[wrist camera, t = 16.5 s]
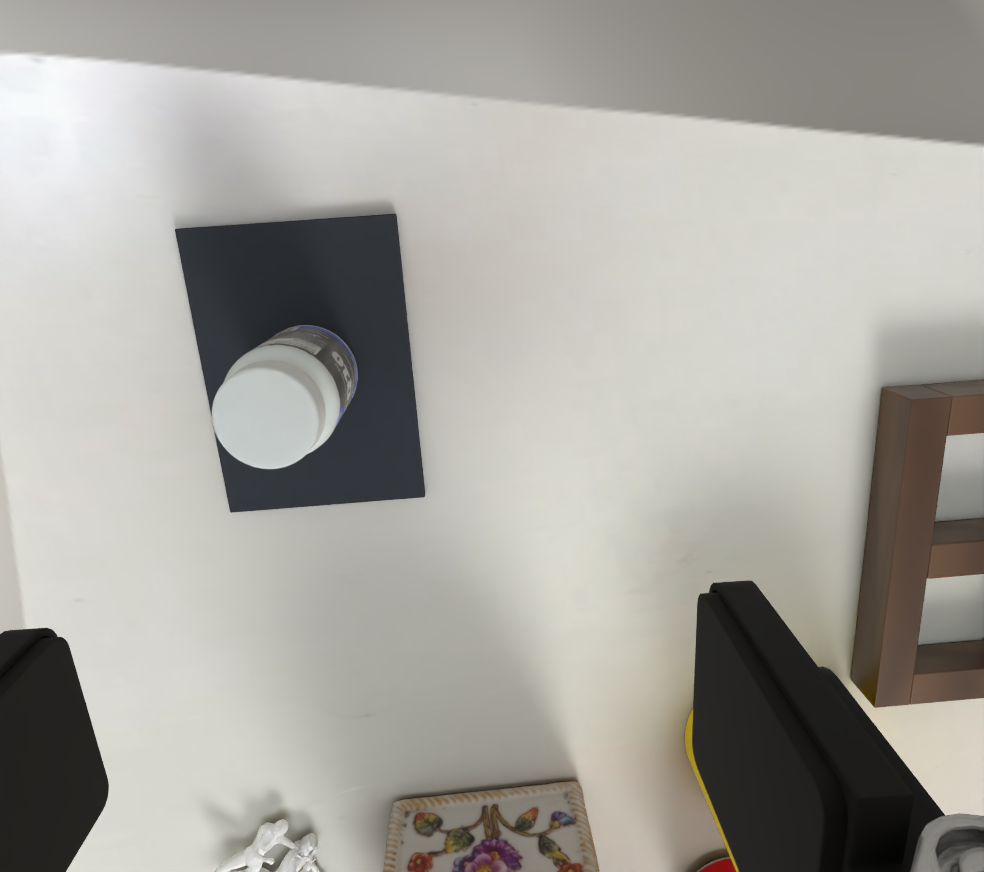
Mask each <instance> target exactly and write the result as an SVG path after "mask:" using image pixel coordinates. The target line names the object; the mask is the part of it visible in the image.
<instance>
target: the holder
mask: <svg viewBox="0 0 984 872" xmlns="http://www.w3.org/2000/svg"><path fill="white" fill-rule="evenodd" d="M974 433H984V380H977V381H964V382H951V383H938V384H925V385H911V386H898V387H885V388H882V394H881V404H880V413H879V422H878V432H877V441H876V450H875V460H874V469H873V478H872V488H871V497H870V506H869V516H868V525H867V534H866V544H865V553H864V562H863V572H862V581H861V590H860V600H859V609H858V618H857V628H856V637H855V646H854V656H853V665H852V674H851V680H852V682H853V683H854V684H855V685H856V686H857V687H858V689H859V690H860V691H861V692H862V693H863V695H864V696H865V697H866V698H867V699H868V700H869V702H870V703H871V704H872V705H873V706H874V707H875V708H876V707H887V706H898V705H909V704H920V703H931V702H942V701H954V700H965V699H976V698H984V640H979V641H967V642H955V643H944V644H932V645H921V646H917V644H918V637H919V630H920V623H921V615H922V608H923V601H924V594H925V587H926V579H927V578H941V577H952V576H964V575H976V574H984V519H971V520H959V521H947V522H935V515H936V508H937V500H938V493H939V486H940V479H941V472H942V464H943V457H944V450H945V443H946V436H949V435H962V434H974ZM934 522H935V523H934Z"/></svg>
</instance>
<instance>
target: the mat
mask: <svg viewBox="0 0 984 872" xmlns="http://www.w3.org/2000/svg"><path fill="white" fill-rule="evenodd" d="M175 232H176V237H177V242H178V247H179V252H180V258H181V263H182V268H183V273H184V278H185V283H186V288H187V293H188V298H189V304H190V309H191V314H192V319H193V324H194V329H195V334H196V339H197V344H198V349H199V355H200V360H201V365H202V370H203V375H204V380H205V385H206V390H207V395H208V400H209V406H210V411H211V416H212V406H213V401H214V398H215V396H216V393H217V391H218V389H219V388H220V386H221V385H222V384H223V383H224V380H225V378H226V375H227V374H228V372H229V370H230V369H231V367H232V366H233V365H234V364H235V363H236V361H237V360H238V359H239V358H241V357H242V356H243V355H245V354H246V353H248V352H249V351H251V350H253V349H254V348H256V347H257V346H259V345H261V344H262V343H264V342H266V341H267V340H269V339H270V338H272V337H273V336H275V335H276V334H278V333H279V332H281V331H283V330H285V329H288V328H290V327H294V326H299V325H312V326H317V327H321V328H324V329H327V330H329V331H331V332H333V333H334V334H336V335H337V336H338V337H340V338H341V339H342V340H343V341H344V342H345V343H346V345H347V346H348V347H349V349H350V350H351V352H352V353H353V355H354V358H355V361H356V364H357V370H358V381H357V387H356V390H355V393H354V396H353V398H352V400H351V402H350V404H349V405H348V407H347V408H346V410H345V412H344V414H343V415H342V417H341V419H340V420H339V422H338V424H337V426H336V427H335V429H334V431H333V433H332V434H331V435H330V437H329V438H328V439H327V440H326V441H325V442H324V443H323V444H322V445H321V446H320V447H318V448H317V449H316V450H314V451H312V452H311V453H308V454H306V455H305V456H304V457H303V458H302V459H300V460H299V461H297V462H295V463H294V464H291V465H289V466H286V467H283V468H278V469H262V468H257V467H253V466H250V465H247V464H245V463H243V462H241V461H239V460H238V459H236V458H235V457H234V456H232V455H231V454H230V453H229V452H228V451H227V450H226V449H225V448H224V447H223V445H222V444H221V442H220V441H219V439H218V437H217V435H216V433H215V436H216V441H217V446H218V452H219V457H220V462H221V467H222V472H223V477H224V482H225V487H226V492H227V497H228V503H229V508H230V512H243V511H255V510H268V509H280V508H293V507H305V506H318V505H331V504H343V503H356V502H368V501H381V500H394V499H406V498H419V497H425V488H424V479H423V469H422V459H421V449H420V440H419V430H418V420H417V410H416V401H415V391H414V381H413V371H412V362H411V352H410V342H409V333H408V323H407V313H406V303H405V294H404V284H403V274H402V264H401V255H400V245H399V235H398V225H397V216H396V214H386V215H372V216H357V217H343V218H328V219H314V220H299V221H285V222H270V223H256V224H241V225H227V226H213V227H198V228H184V229H175ZM214 431H215V430H214Z"/></svg>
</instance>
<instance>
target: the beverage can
mask: <svg viewBox="0 0 984 872" xmlns="http://www.w3.org/2000/svg"><path fill="white" fill-rule="evenodd" d="M697 872H736V870H735V867H734V865H733V863H732V860H731V858H730V857H724V858H720V859H717V860H714V861H712V862H710V863H708V864H706V865H705V866H704V867H702V868H701V869H700V870H698V871H697Z"/></svg>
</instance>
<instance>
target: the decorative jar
mask: <svg viewBox="0 0 984 872" xmlns="http://www.w3.org/2000/svg"><path fill="white" fill-rule="evenodd" d="M383 872H599V867H598V862H597V856H596V852H595V847H594V843H593V838H592V834H591V830H590V825H589V822H588V817H587V812H586V809H585V804H584V797H583V791H582V787H581V785H580V784H579V783H578V782H575V781H570V782H558V783H552V784H545V785H535V786H524V787H517V788H507V789H497V790H488V791H479V792H468V793H460V794H451V795H442V796H433V797H423V798H413V799H404V800H399V801H396V802H394V804H393V808H392V811H391V817H390V826H389V832H388V838H387V848H386V856H385V863H384V870H383Z"/></svg>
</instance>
